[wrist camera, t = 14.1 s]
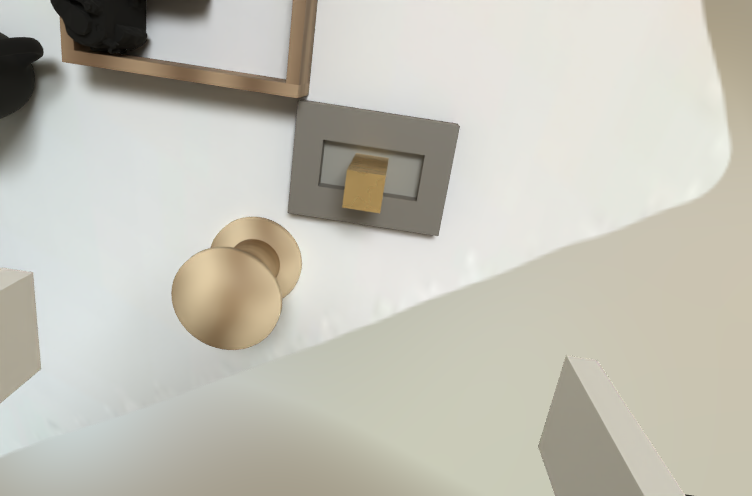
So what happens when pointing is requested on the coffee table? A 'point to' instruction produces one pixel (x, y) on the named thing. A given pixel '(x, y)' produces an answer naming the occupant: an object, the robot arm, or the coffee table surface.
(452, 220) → the coffee table surface
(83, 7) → the film camera
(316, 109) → the board
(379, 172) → the block
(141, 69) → the caddy
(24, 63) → the mug
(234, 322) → the wooden spool
